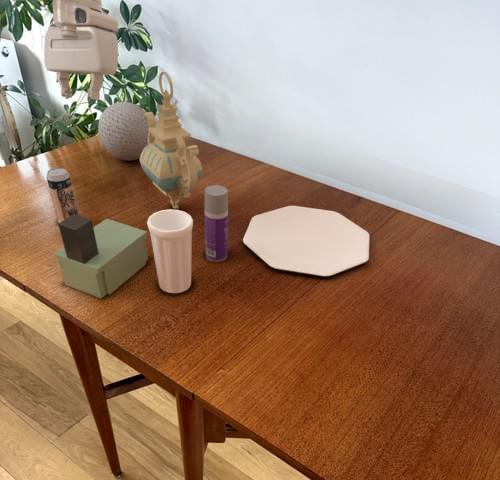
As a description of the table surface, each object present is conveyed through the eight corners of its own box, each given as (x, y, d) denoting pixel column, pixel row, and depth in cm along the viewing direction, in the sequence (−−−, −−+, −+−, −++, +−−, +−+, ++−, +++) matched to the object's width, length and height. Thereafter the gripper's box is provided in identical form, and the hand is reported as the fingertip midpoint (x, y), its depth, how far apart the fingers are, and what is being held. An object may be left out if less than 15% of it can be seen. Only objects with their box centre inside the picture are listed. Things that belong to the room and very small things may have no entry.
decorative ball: (167, 159, 134) (162, 104, 124) (123, 174, 126) (115, 116, 116) (135, 144, 141) (129, 91, 131) (92, 157, 133) (82, 101, 123)
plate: (258, 205, 117) (259, 200, 116) (368, 221, 113) (370, 216, 112) (233, 267, 97) (233, 261, 96) (366, 288, 93) (368, 282, 92)
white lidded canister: (71, 229, 104) (59, 178, 96) (54, 224, 106) (40, 173, 97) (84, 219, 108) (73, 169, 100) (67, 215, 109) (54, 165, 101)
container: (229, 260, 98) (231, 194, 88) (208, 263, 97) (207, 196, 87) (224, 248, 102) (225, 183, 91) (203, 251, 100) (201, 185, 90)
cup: (197, 296, 89) (194, 231, 79) (154, 299, 88) (146, 233, 78) (194, 271, 95) (191, 208, 85) (154, 274, 94) (146, 209, 84)
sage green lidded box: (62, 283, 90) (53, 253, 85) (112, 247, 100) (106, 218, 95) (103, 300, 87) (97, 269, 82) (150, 260, 97) (147, 231, 92)
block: (66, 257, 84) (57, 223, 80) (82, 247, 87) (74, 213, 82) (84, 264, 83) (76, 229, 78) (98, 253, 86) (91, 219, 81)
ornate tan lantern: (219, 224, 109) (219, 85, 88) (175, 237, 104) (164, 92, 84) (174, 183, 123) (165, 55, 103) (133, 193, 118) (115, 60, 98)
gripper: (33, 16, 93) (38, 93, 98) (94, 11, 82) (95, 98, 87) (62, 24, 97) (65, 98, 103) (124, 21, 86) (123, 103, 92)
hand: (79, 98), depth 95 cm, fingers open, 8 cm apart
